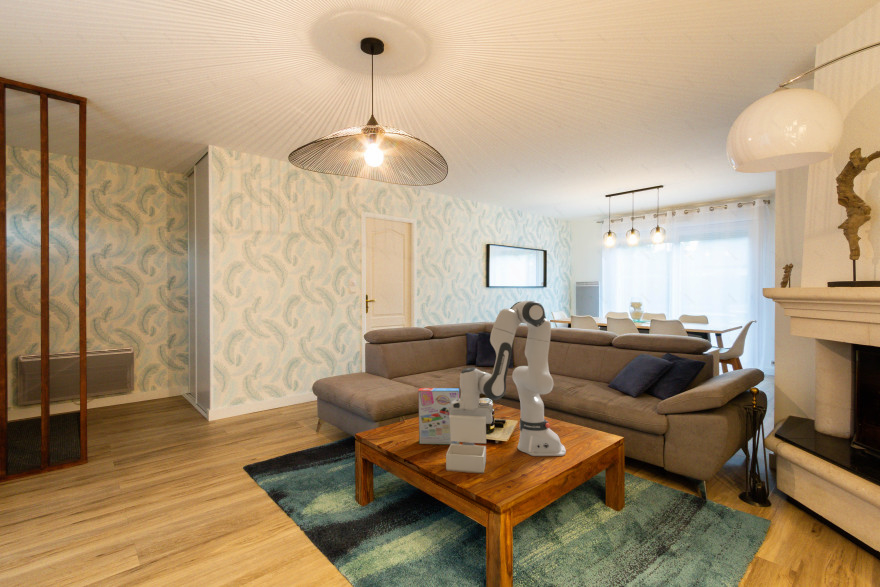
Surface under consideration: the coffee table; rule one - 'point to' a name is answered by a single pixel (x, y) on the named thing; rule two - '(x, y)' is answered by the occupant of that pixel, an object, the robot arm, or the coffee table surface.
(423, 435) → the game box
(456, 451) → the mailer box
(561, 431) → the coffee table surface
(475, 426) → the lid
